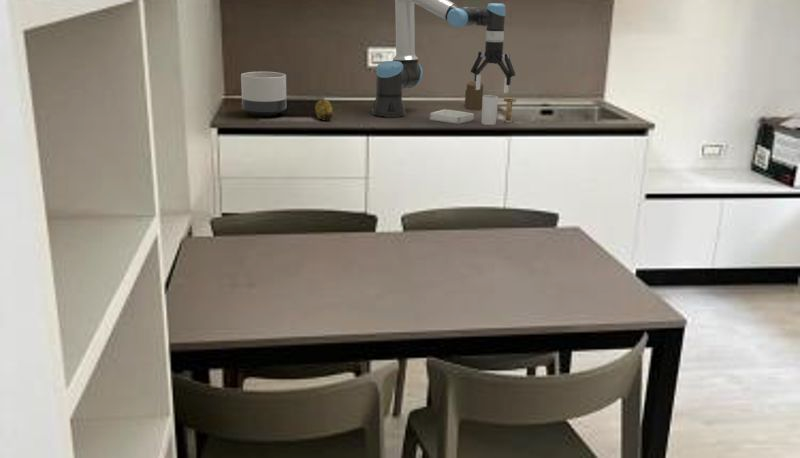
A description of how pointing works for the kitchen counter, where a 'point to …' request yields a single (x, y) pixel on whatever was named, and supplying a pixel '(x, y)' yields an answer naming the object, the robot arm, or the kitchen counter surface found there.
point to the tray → (451, 116)
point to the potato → (324, 109)
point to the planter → (263, 92)
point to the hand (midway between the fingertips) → (491, 91)
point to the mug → (489, 109)
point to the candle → (473, 96)
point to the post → (509, 108)
